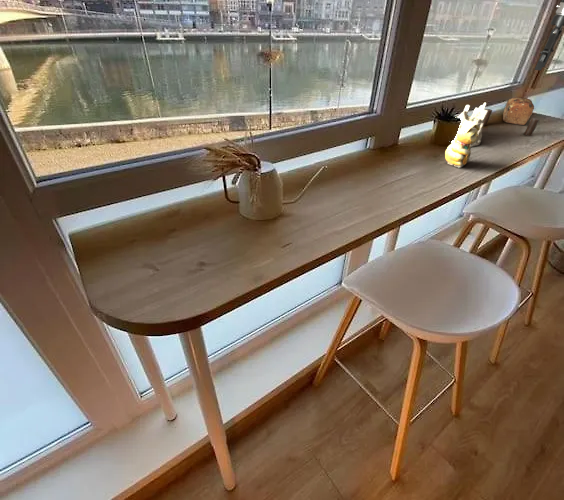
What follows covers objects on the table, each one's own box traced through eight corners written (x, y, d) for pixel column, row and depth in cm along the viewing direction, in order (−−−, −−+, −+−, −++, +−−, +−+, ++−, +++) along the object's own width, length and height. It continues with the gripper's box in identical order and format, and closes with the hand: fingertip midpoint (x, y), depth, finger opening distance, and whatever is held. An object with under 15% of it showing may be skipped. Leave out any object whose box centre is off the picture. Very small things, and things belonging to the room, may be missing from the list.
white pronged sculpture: (450, 129, 147) (463, 94, 137) (486, 141, 138) (503, 105, 128) (432, 139, 139) (444, 102, 129) (469, 152, 130) (485, 114, 120)
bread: (525, 126, 156) (536, 104, 150) (501, 122, 160) (510, 100, 154) (524, 116, 169) (534, 96, 163) (501, 113, 173) (510, 93, 166)
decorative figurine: (462, 171, 113) (480, 127, 103) (438, 164, 116) (453, 121, 107) (469, 162, 119) (486, 120, 109) (445, 156, 122) (460, 115, 113)
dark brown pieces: (531, 134, 146) (540, 118, 142) (530, 136, 144) (539, 120, 140) (479, 123, 157) (486, 108, 152) (478, 125, 155) (484, 109, 151)
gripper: (557, 13, 156) (534, 64, 169) (551, 14, 141) (526, 70, 154) (576, 14, 152) (550, 66, 166) (572, 15, 137) (545, 72, 150)
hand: (539, 68), depth 160 cm, fingers open, 12 cm apart
